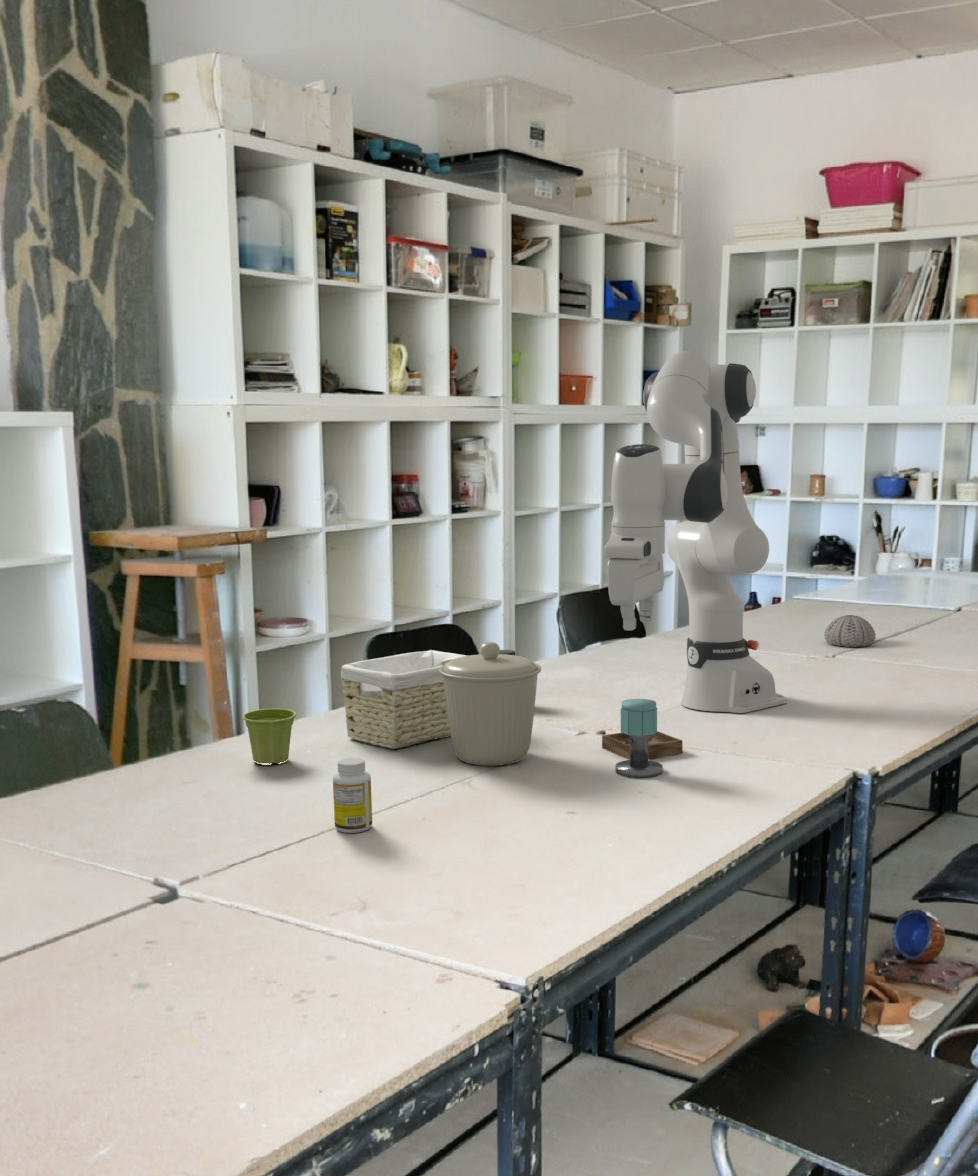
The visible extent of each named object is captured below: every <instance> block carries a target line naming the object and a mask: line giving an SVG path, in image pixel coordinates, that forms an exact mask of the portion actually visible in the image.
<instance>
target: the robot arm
mask: <svg viewBox="0 0 978 1176" xmlns="http://www.w3.org/2000/svg"><path fill="white" fill-rule="evenodd" d="M756 385H757V384H756V381H755V379H754V376H753V372H752V371H751V370H750V369H749V367H747V365H746V364H740V363H733V362H732V363H728V364H718V363H717V364H716V363H715V364H712V363H711V364H709V362H708V361H707V360H706V358H704V356H702V355H700V354H699V353H697V352H693V351H687V350H685V351H684V350H683V351H679V352H676V353H674V354H672V355H670V357H669V358H668V359H667V360H665V362H664V364H663V365H662V366H661V368H660V370H658V371H656V372H653V373H652V374H651V375H649V377H648V378H647V379H646V380H645V383H644V385H643V386H644V387H643V393H642V394H643V396H642V398H643V399H642V400H643V405H644V408H645V411H646V417H647V420H648V422H649V425H650V426H651V428H652V429H653V430H654V431H655V433H656V434H657V435H659V437H661V438H663V439H665V440H666V441H667V442H668V441H669V442H671V443H674V444H679V445H680V444H681V445H683V446H684V463H664V462H663V456H662V455H663V454H662V451H661V448H660V447H659V446H656V445H653V444H645V443H644V444H642V443H639V444H637V443H636V444H631V445H626V446H625V445H624V446H622V447H620V448H619V449H616V451H615V454H614V458H613V465H612V473H611V486H610V487H611V490H610V494H611V496H610V497H611V498H610V500H611V504H612V507H613V515H612V520H611V525H610V526H611V527H610V528H611V529H610V530H611V533H610V538H609V540H608V541H607V543H606V544H605V545H604V557H605V558H606V559H608V562H607V584H608V585H607V586H608V587H607V588H608V596H609V601H610V603H611V604H612V605H613V606H620V608H619V609H620V613H621V614H620V615H621V617H622V620H623V622H622V623H623V624H622V628H623V630H624V631H634V630H635V629H636V628H637V618H636V616H635V610H636V604H637V603H639V602H641V604H640V605H641V608H640V611H639V621H640V622H643V623H649V622H651V621H652V620H653V610H654V604H655V600H656V595H657V594H659V593H661V592H662V591H663V590H664V586H665V585H664V584H665V582H664V581H665V580H664V579H665V573H664V571H665V570H664V556H663V554H665V553H666V551H665V550H667V554H668V556H669V558H670V560H672V562H674V563H675V566H677V568H678V570H679V571H678V572H679V573H680V576H681V578H682V581H683V584H684V587H685V591H686V597H687V602H688V603H687V604H688V634H689V635H688V637H687V639H686V657H687V671H686V672H687V673H686V680H685V681H686V682H685V686H684V691H683V694H682V698H681V701H680V704H681V706H684V707H685V708H688V709H692V710H696V711H697V710H698V711H704V712H717V713H718V712H721V713H722V712H723V713H735V714H744V713H745V714H746V713H750V712H755V711H759V710H762V709H767V708H771V707H775V706H779V705H783V704H784V705H785V704H787V703H788V702H787V701H788V700H787V697H785V696H784V695H783V694H780V693H777V692H776V683H775V679H774V676H773V673H771V671H770V670H768V669H767V668H766V667H764V666H763V665H762V664H761V663H760V662H758V661H757V660H756V659H755V658H753V657H752V656H751V654H750V651H749V650H752V651H757V650H758V649H759V648H760V642H758V640H753V639H748V640H746V639H745V638H744V635H743V632H744V631H743V630H744V625H743V624H744V617H743V616H744V615H743V614H744V606H743V601H742V599H741V597H740V596H739V595H738V594H737V593H736V591H735V590H734V589H733V587H732V584H731V581H730V578H729V576H744V575H749V574H755V573H757V572H758V571H760V570H761V569H762V568H763V567H764V566H765V564H767V560H768V558H769V554H770V543H769V539H768V537H767V535H766V533H765V531H763V529H761V528H760V526H758V525H757V523H756V522H755V520H754V518H753V516H752V514H751V512H750V510H749V508H748V505H747V503H746V499H745V495H744V491H743V487H742V474H741V461H740V444H739V443H740V442H739V435H738V434H739V433H738V427H737V423H739V422H740V421H741V418H743V417H745V416H747V415H748V413H749V412H750V411H751V410H752V409H753V407H754V402H755V399H756V394H757V386H756ZM665 521H680V522H678V523H676V524H675V525H674V526H673V527H672V528H671V529H670V530H669V533H668V536H667V538H666V537H665V536H666V532H665V531H666V529H665V527H666V526H665V525H666V523H665ZM665 539H666V540H665Z"/></svg>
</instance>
